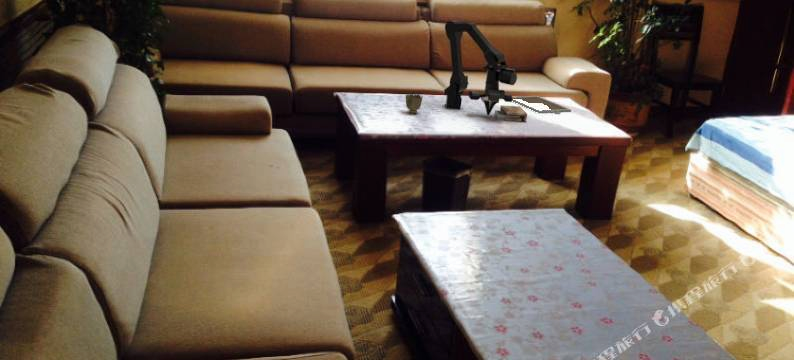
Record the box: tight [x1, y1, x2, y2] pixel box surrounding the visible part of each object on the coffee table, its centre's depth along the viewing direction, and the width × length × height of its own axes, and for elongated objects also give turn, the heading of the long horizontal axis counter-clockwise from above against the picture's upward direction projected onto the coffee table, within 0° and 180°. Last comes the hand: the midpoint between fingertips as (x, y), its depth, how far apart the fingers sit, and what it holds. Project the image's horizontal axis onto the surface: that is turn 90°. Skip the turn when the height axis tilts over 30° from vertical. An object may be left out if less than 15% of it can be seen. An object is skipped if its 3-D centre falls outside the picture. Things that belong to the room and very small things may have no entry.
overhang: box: [499, 105, 528, 123], centre depth 291 cm, size 9×13×4 cm
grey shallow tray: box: [493, 109, 520, 120], centre depth 291 cm, size 10×8×2 cm
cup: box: [405, 93, 424, 115], centre depth 285 cm, size 8×7×8 cm
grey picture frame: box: [512, 95, 572, 115], centre depth 317 cm, size 19×2×30 cm
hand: (488, 115), depth 290 cm, fingers closed
